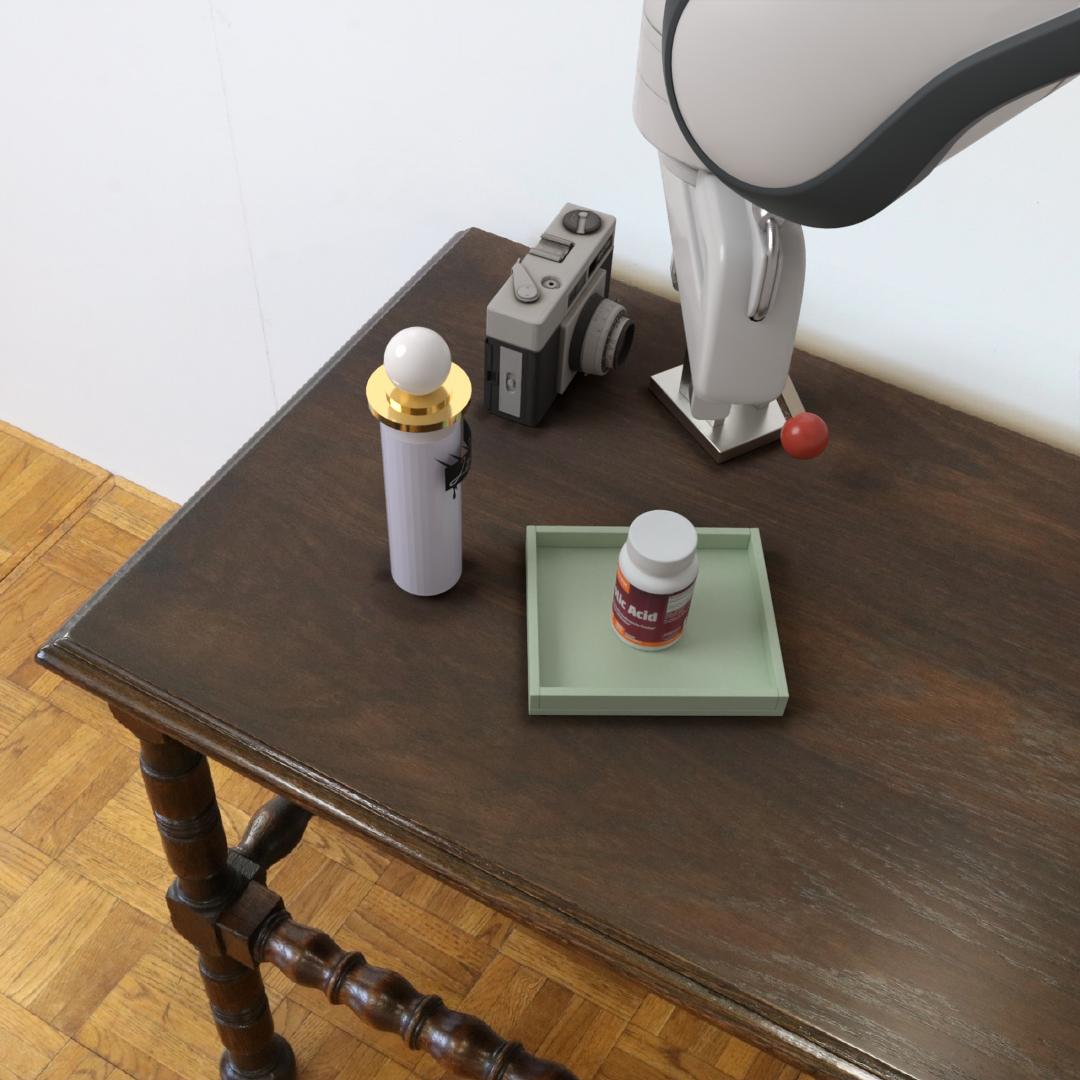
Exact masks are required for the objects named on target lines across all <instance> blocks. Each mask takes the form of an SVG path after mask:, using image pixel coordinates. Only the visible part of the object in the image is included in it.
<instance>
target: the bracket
mask: <svg viewBox="0 0 1080 1080" xmlns="http://www.w3.org/2000/svg"><path fill="white" fill-rule="evenodd" d="M691 375H692V374H691V368H690V361H689V355H688V348H687V344H686V347H685V352H684V357H683V364H680V365H678V366H675V367H671V368H669V369H666V370H663V371H661V372H658V373H656V374H653V375H650V376H649V382H648V389H649V390H650V392H652V394H653V395H654V396H655V397H656V398H657V399H658V400H659V401H660V403H662V404H663V405H664V407H665V408H666V409H667V410H668V411H669V412H670V413H671V415H672V416H673V417H674V418H675V419H676V420H677V421H678V422H679V423H680V424H681V425H682V426H683V428H684V429H685V430H686V431H687V432H688V433H689V434H690V435H691V436H692V437H693V439H695V441H696V442H697V443H698V444H699V445H700V446H701V448H703V449H704V451H706V453H707V454H708V455H709V456H710V457H711V458H712V459H713V460H714V461H715V463H716V464H721V463H724V462H727V461H729V460H731V459H734V458H737V457H739V456H741V455H744V454H746V453H749V452H751V451H753V450H756V449H758V448H761V447H763V446H765V445H768V444H771V443H773V442H775V441H777V440H781V439H780V435H781V429H782V427H783V425H784V423H785V422H786V420H785V418H784V416H783V414H782V411H781V409H780V407H779V405H778V403H777V400H776V399H775V400H774V401H772V402H770V403H766V404H742V405H736V404H732V405H731V410H730V414H729V415H728V417H726V418H725V419H722V420H697V419H695V418H693V417H692V414H691V409H690V401H689V393H688V392H689V388H690V380H691Z"/></svg>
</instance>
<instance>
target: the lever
mask: <svg viewBox="0 0 1080 1080" xmlns="http://www.w3.org/2000/svg"><path fill="white" fill-rule="evenodd" d="M776 400H777V403H778V405H779V407H780V409H781V411H782V414H783V416H784V418H785V420H786V422H785V423H784V425H783V427H782V429H781V435H780V439H779V440H780V443H781V446H782V448H783V450H784V451H785V452H786V453H787V454H788V455H789V456H790V457H792V458H794V459H796V460H801V461H808V460H812V459H815V458H817V457H818V456H820V455H821V454H822V453H823V452H824V451H825V450H826V448H827V446H828V444H829V440H830V431H829V428H828V425H827V423H826V421H824V419H823V418H822V417H820V416H819V415H817V414H815V413H813V412H809V411H808V412H807V411H806V409H805V407H804V405H803V403H802V401H801V399H800V396H799V394H798V391H797V390H796V387H795V385H794V383H793V380H792V379H791V376H790V374H789V373H788V377H787V381H786V385H785V388H784V390H783V392H782V394H781V395H780V396H779V397H778V398H777V399H776Z"/></svg>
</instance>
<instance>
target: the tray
mask: <svg viewBox="0 0 1080 1080" xmlns="http://www.w3.org/2000/svg"><path fill="white" fill-rule="evenodd" d="M694 528H695V530H696V532H697V536H698V543H697V549H696V554H697V556H698V561H699V571H698V574H697V579H696V583H695V587H694V592H693V596H692V600H691V605H690V609H689V614H688V619H687V623H686V627H685V631H684V633H683V635H682V636H681V638H680V639H679V640H678V641H677V642H676V643H675V644H673V645H672V646H670V647H668V648H665V649H662V650H657V651H644V650H640V649H636V648H633V647H631V646H629V645H627V644H626V643H625V642H623V641H622V640H621V639H620V638H619V637H618V636H617V634H616V633H615V631H614V630H613V627H612V624H611V609H612V603H613V596H614V588H615V581H616V574H617V568H618V560H619V554H620V551H621V549H622V547H623V545H624V544H625V543H626V541H627V538H628V533H629V529H630V526H612V525H611V526H601V525H600V526H599V525H597V526H596V525H595V526H594V525H587V526H586V525H526V531H525V577H526V578H525V584H526V585H525V587H526V588H525V589H526V635H527V637H526V639H527V642H526V643H527V644H526V645H527V691H528V694H527V695H528V715H529V716H677V717H678V716H680V717H682V716H686V717H688V716H692V717H694V716H696V717H697V716H701V717H702V716H703V717H704V716H705V717H709V716H711V717H712V716H713V717H783V716H784V713H785V710H786V707H787V705H788V701H789V698H790V693H789V688H788V683H787V678H786V672H785V667H784V666H785V665H784V661H783V655H782V648H781V643H780V639H779V633H778V627H777V622H776V615H775V611H774V605H773V600H772V594H771V590H770V589H771V587H770V582H769V578H768V572H767V567H766V561H765V555H764V550H763V544H762V538H761V534H760V533H761V532H760V528H759V527H750V528H749V527H699V526H698V527H697V526H696V527H695V526H694Z"/></svg>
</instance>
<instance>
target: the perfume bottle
mask: <svg viewBox="0 0 1080 1080" xmlns="http://www.w3.org/2000/svg"><path fill="white" fill-rule="evenodd" d="M365 388H366V389H365V394H366V403H367V406H368V410H369V411H370V412H371V414H372V416H374V418H375V419H376V420H377V421H378V422H379V429H380V430H379V431H380V444H381V445H380V446H381V454H382V455H381V458H382V469H383V470H382V471H383V481H384V482H383V485H384V496H385V497H384V498H385V508H386V509H385V511H386V522H387V534H388V549H389V562H390V571H391V572H390V574H391V576H392V579H393V580H394V583H395V584H396V585H397V586H398V587H399V588H400V589H402V590H403V591H405V592H407V593H409V594H411V595H415V596H421V597H429V596H430V597H431V596H437V595H440V594H442V593H445V592H447V591H449V590H451V589H452V588H453V587H454V586H455V585H456V584H457V583H458V582H459V580H460V578H461V576H462V573H463V514H462V513H463V508H462V507H463V506H462V505H463V504H462V503H463V502H462V482H463V481H464V480H465V479H466V477H467V476H468V474H469V472H470V471H471V468H472V462H473V461H472V460H473V459H472V457H473V455H472V453H473V451H472V448H473V447H472V446H473V445H472V444H473V440H472V439H473V437H472V430H471V427H470V425H469V422H468V421H467V420H466V419H465V417H464V416H465V415H466V413H467V412H468V410H469V408H470V406H471V403H472V397H473V396H472V391H473V389H472V383H471V380H470V378H469V376H468V374H467V373H466V371H465V370H464V369H463V368H461V367H460V365H458V364H456V363H455V362H453V361H452V352H451V350H450V348H449V345H448V343H447V342H446V340H445V339H444V338H443V336H441V335H440V333H438V332H436V331H435V330H433V329H431V328H428V327H425V326H411V327H405V328H404V329H401V330H399V331H398V332H396V334H395V335H393V336H392V337H391V339H390V340H389V342H388V344H386V347H385V350H384V354H383V364H382V365H380V366H379V367H377V369H375V370H374V371H373V372H372V373H371V375H370V377H369V379H368V381H367V384H366V387H365ZM462 421H463V422H462ZM462 425H463V426H462ZM462 431H463V433H462ZM462 434H463V437H462ZM462 438H463V439H462ZM462 441H463V442H464V443H465V445H466V446H465V445H462ZM462 449H464V450H466V452H465V453H464V454H463V456H462Z"/></svg>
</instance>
